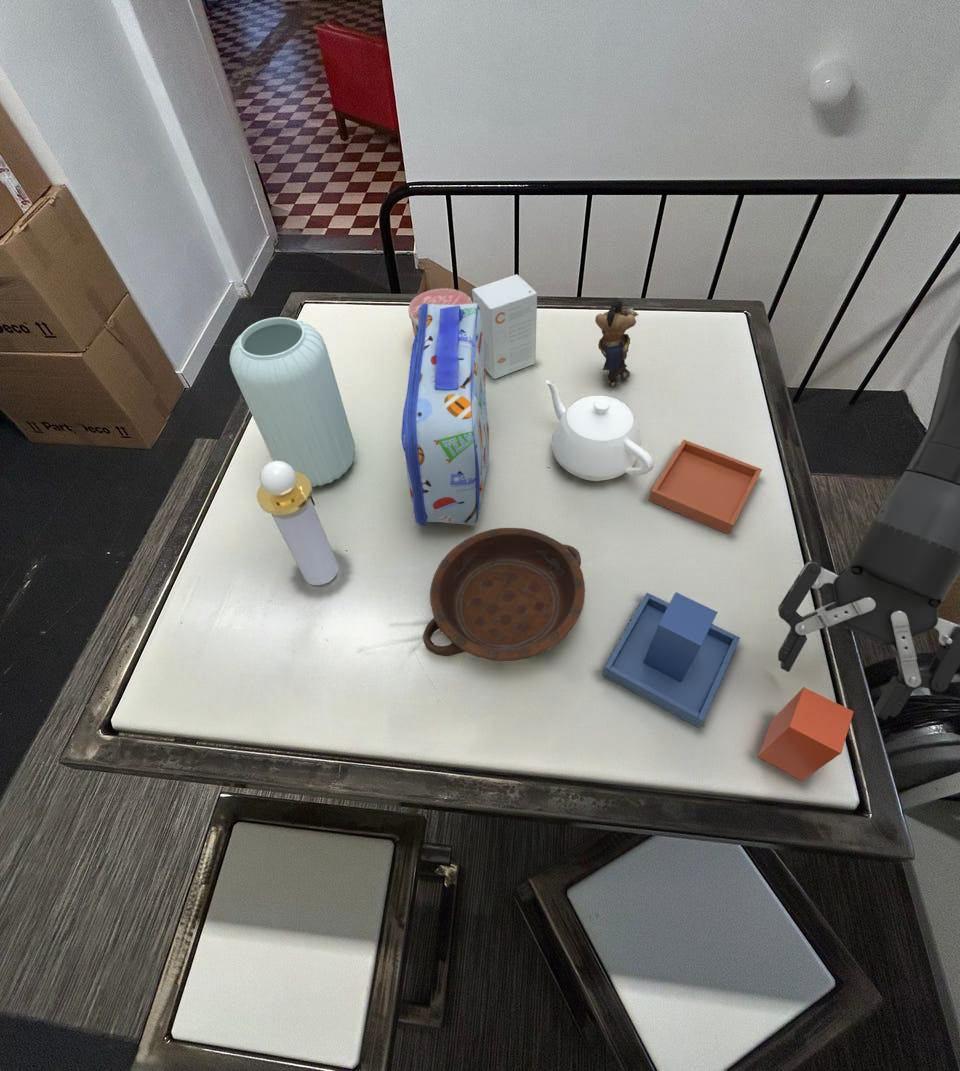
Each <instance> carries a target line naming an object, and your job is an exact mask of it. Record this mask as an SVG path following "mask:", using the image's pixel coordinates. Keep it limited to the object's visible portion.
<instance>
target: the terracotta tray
mask: <svg viewBox="0 0 960 1071" xmlns="http://www.w3.org/2000/svg"><path fill="white" fill-rule="evenodd" d="M762 472H763V468H761V467H757V466H755V465H753V464H750V463H748V462H744V461H741V460H739V459H737V458H734V457H731V456H729V455H726V454H723V453H722V452H718V451H715V450H713V449H710V448H707V447H704V446H702V445H699V444H697V443H695V442H692V441H689V440H686V439H682V441H681V442H680V444H679V445H678V447H677V448H676V450H675V452H674V453H673V455H672V457H671V458H670V460H669V461H668V462H667V465H666V466H665V468H664V469H663V471H662V472H661V474H660V475H659V477H658V479H657V480H656V482H655V483H654V486H653V487H652V488H651V490H650V494H649V497H648V501H649V502H651V503H653V504H656V505H658V506H661V507H663V508H665V509H667V510H670V511H672V512H674V513H677V514H679V515H681V516H684V517H686V518H689V519H691V520H693V521H696V522H698V523H700V524H703V525H705V526H708V527H709V528H712V529H714V530H717V531H719V532H722V533H724V534H726V535H730V534H731V532H732V530H733V528H734V526H735V524H736V522H737V520H738V518H739V517H740V515H741V513H742V511H743V508H744V507H745V505H746V503H747V501H748V499H749V497H750V494H751V493H752V491H753V489H754V487H755V486H756V483H757V481H758V479H759V477H760V475H761V473H762Z"/></svg>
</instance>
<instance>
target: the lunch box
mask: <svg viewBox="0 0 960 1071" xmlns="http://www.w3.org/2000/svg"><path fill="white" fill-rule="evenodd" d="M414 327H415V331H416V336H414V338H413V342H412V347H411V355H410V360H409V361H410V362H409V371H408V372H409V373H408V382H407V389H406V394H405V395H406V396H405V401H404V405H403V412H402V421H401V422H402V423H401V424H402V425H401V446H402V449H403V452H404V456H405V464H406V465H405V466H406V476H407V482H408V488H409V493H410V498H411V499H410V500H411V504H412V511H413V515H414V520H415V523H416V524H417V525H418V526H420V527H425V526H426V525H427V523H444V524H445V523H447V524H455V525H457V524H458V525H468V526H475V524H477V522H478V521H479V515H480V510H481V507H482V501H483V494H484V488H485V482H486V477H487V470H488V465H489V454H490V432H489V431H490V429H489V427H490V426H489V418H488V408H487V396H486V394H487V393H486V391H487V389H486V372H485V371H486V369H485V368H484V366H485V359H484V339H483V331H482V319H481V313H480V308H479V305H478V304H477V303H473V302H472V303H469V304H463V305H437V304H425V303H424V304H423V305H421V306H420V307H419V310H418V327H417V326H416V325H414Z"/></svg>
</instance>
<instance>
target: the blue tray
mask: <svg viewBox="0 0 960 1071" xmlns="http://www.w3.org/2000/svg"><path fill="white" fill-rule="evenodd" d="M669 603H670V602H668V601H666V600H663V599H662V598H660V597H657V596H656V595H652V594H651V593H649V592H646V593H645V595H644V596H643V598H642V600H641V602H640V603H639V605H638V607H637V609H636V611H635V612H634V614H633V615H632V618H631V620H630V621H629V623H628V625H627V627H626V628H625V630H624V632H623V633H622V635H621V637H620V639H619V640H618V642H617V643H616V646H615V647H614V649H613V651H612V653H611V655H610V657H609V658H608V660H607V662H606V663H605V665H604V668H603V670H602V676H604V677H606V678H607V679H609V680H611V681H612V682H614V683H616V684H618V685H620V686H621V687H624V688H625V689H626V690H627V689H628V690H629V691H631V692H633V693H634V694H637V695H638V696H640V697H642V698H643V699H645V700H647V701H649V702H651V703H653V704H654V705H656V706H658V707H660V708H662V709H664V710H666V711H667V712H669V713H671V714H673V715H674V716H676V717H678V718H680V719H681V720H683V721H686V722H687V723H689V724H691V725H693V726H695V727H696V728H699V727H700V726H701V725H702V723H703V722H704V720H705V718H706V715H707V714H708V711H709V709H710V707H711V705H712V702H713V701H714V698H715V695H716V693H717V691H718V689H719V686H720V685H721V683H722V680H723V677H724V675H725V673H726V672H727V669H728V666H729V664H730V662H731V660H732V657H733V655H734V652H735V650H736V648H737V647H738V644H739V641H740V639H741V637H740V636H738V635H736V634H735V633H732V632H730V631H728V630H725V629H724V628H721V627H719V626H717V625H715V624H713V623H712V625H711V627H710V629H709V631H708V633H707V635H706V638H705V640H704V642H703V644H702V646H701V648H700V650H699V651H698V653H697V655H696V657H695V659H694V660H693V662H692V664H691V666H690V668H689V669H688V671H687V673H686V675H685V677H684V679H683V680H682V682H679V681H677V680H675V679H673V678H671V677H670V676H668V675H666V674H664V673H662V672H660V671H658V670H656V669H654V668H652V667H651V666H649V665H647V664H645V663H643V661H644V659H645V656H646V654H647V651H648V649H649V646H650V644H651V641H652V639H653V636H654V634H655V631H656V629H657V626H658V624H659V622H660V620H661V618H662V616H663V615H664V613H665V611H666V609H667V607H668V605H669Z"/></svg>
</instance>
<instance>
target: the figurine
mask: <svg viewBox="0 0 960 1071" xmlns="http://www.w3.org/2000/svg"><path fill="white" fill-rule="evenodd" d="M610 305H611V306H610V309H609V310H608V311H606V312H603V313H598V314H597V315H596V316H595V320H594V321H595V324H596V326H598V328H599V329H600V330H601V334H602V337H601V338H600V339H599V341H598V344H597V346H598V349H599V350H600V352H601V354H602V356H603V357H604V358H605V362H604V364H603V368H602V371H608V374H607V380H608V386H609V387H611V388H615V387H617V385H618V384H617V380H618V377H620V379H626V378H629V377H630V371H629V370H628V369H627V368H628V366H627V364H626V360H627V357H628V352H629V346H630V344H631V337H630V334H628V333H626V331H627V330H629V329H630V328H633V327H635V325H636V323H637V320H636V317H638V316H639V313H638V312H637V311H635V309H634V308H633V307H632V308H629V307H627V308H624V307H623V306H624V301H623V299H617V298H616V299H613V301H612V303H611V304H610Z"/></svg>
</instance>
